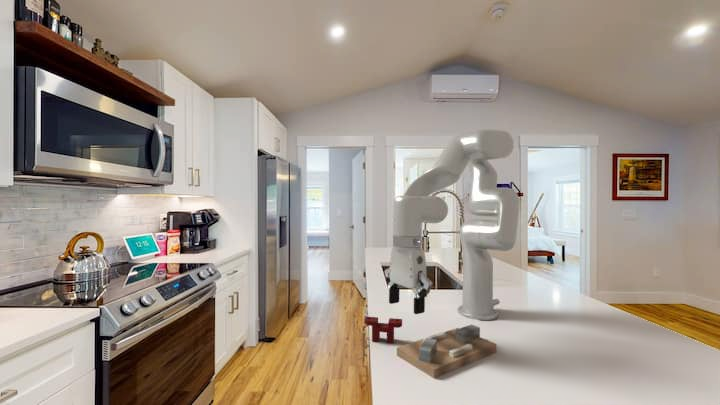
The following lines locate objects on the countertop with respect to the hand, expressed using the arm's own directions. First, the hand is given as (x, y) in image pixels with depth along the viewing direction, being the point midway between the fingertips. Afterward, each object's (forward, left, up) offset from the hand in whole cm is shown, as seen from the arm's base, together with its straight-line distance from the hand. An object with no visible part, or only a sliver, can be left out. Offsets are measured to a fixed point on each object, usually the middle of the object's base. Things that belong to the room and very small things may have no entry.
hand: (406, 307), depth 83 cm
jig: (-5, +10, -9) cm, 14 cm away
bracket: (0, -1, -7) cm, 7 cm away
